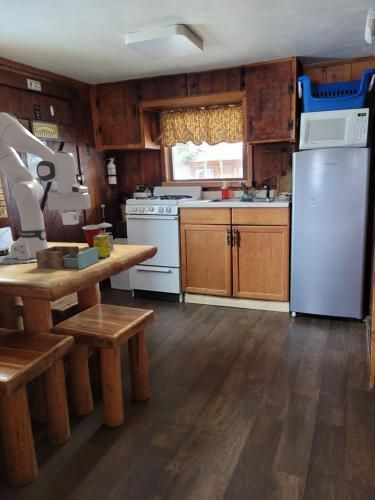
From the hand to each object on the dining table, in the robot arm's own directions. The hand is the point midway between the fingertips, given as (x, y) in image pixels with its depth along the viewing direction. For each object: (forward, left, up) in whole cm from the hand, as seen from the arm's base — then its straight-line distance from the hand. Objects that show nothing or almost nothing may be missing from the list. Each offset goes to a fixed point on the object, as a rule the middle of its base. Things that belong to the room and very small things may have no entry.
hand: (70, 219), depth 174 cm
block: (0, 0, -2) cm, 2 cm away
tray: (+1, 0, -21) cm, 21 cm away
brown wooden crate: (-8, 0, -21) cm, 23 cm away
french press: (-1, +33, -21) cm, 39 cm away
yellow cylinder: (+5, +18, -21) cm, 28 cm away
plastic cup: (-16, +46, -21) cm, 53 cm away
